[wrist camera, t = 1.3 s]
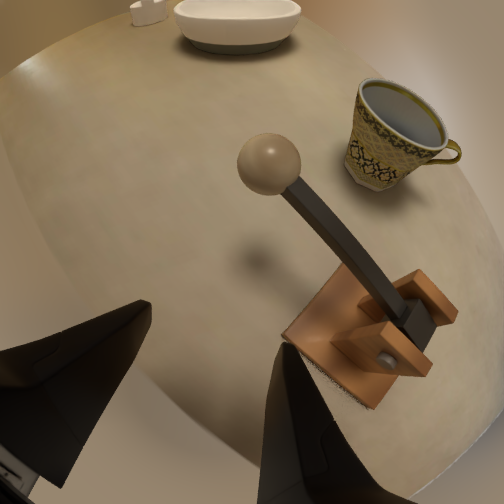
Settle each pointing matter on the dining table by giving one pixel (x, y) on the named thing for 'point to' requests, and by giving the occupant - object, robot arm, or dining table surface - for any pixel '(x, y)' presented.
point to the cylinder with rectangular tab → (148, 12)
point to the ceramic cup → (393, 135)
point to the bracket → (364, 334)
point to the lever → (329, 229)
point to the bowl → (236, 24)
